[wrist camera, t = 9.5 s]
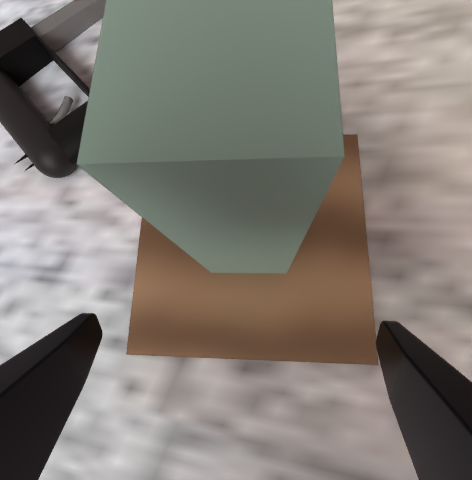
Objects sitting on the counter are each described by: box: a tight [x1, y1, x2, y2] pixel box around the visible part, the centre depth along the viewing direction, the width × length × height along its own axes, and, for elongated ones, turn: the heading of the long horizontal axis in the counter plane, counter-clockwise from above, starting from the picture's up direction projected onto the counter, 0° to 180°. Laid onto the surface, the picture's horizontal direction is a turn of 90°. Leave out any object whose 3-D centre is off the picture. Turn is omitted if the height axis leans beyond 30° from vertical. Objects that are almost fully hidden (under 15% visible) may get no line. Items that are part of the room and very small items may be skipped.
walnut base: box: [126, 135, 378, 365], centre depth 19 cm, size 14×14×3 cm
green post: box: [77, 0, 344, 274], centre depth 12 cm, size 4×4×13 cm
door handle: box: [0, 0, 106, 178], centre depth 26 cm, size 3×20×16 cm
